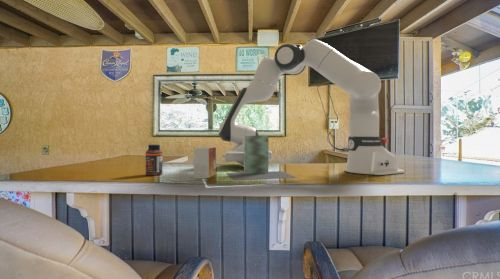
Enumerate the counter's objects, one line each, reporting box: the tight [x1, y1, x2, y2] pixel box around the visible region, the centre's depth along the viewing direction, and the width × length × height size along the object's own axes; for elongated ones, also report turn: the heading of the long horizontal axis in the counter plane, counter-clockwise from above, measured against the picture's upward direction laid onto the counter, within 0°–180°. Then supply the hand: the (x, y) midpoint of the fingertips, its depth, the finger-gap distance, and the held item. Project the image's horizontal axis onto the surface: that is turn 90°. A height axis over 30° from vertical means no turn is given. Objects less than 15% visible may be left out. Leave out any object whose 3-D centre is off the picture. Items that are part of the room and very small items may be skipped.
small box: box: [193, 146, 217, 180], centre depth 99 cm, size 8×6×10 cm
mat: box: [225, 170, 298, 181], centre depth 100 cm, size 22×16×1 cm
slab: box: [243, 135, 269, 174], centre depth 105 cm, size 9×1×14 cm, turn 104°
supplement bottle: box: [145, 143, 163, 177], centre depth 105 cm, size 6×6×11 cm
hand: (252, 157), depth 110 cm, fingers closed
